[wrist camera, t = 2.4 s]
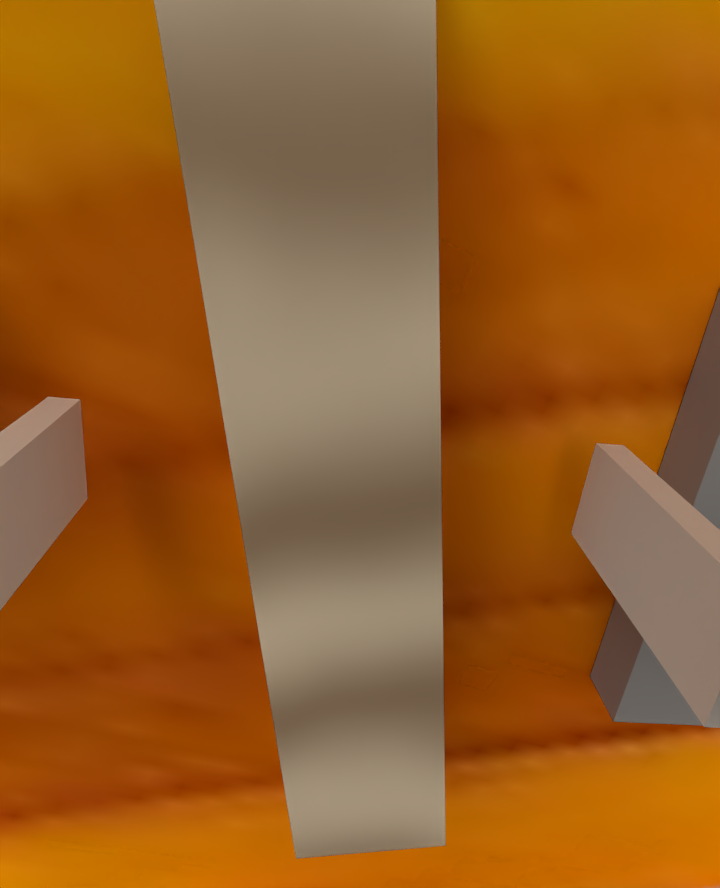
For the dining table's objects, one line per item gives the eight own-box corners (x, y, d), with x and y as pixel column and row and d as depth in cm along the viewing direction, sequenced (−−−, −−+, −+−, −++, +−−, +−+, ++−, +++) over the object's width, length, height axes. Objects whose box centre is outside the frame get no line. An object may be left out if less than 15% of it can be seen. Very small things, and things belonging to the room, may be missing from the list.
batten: (189, -89, 13) (115, -229, 9) (397, -102, 13) (433, -249, 9) (302, 722, 23) (295, 858, 18) (422, 711, 23) (445, 845, 18)
